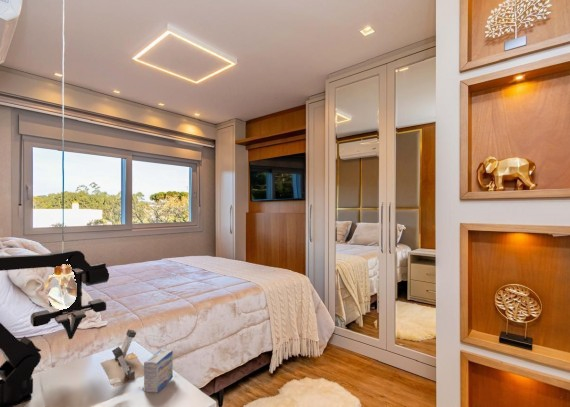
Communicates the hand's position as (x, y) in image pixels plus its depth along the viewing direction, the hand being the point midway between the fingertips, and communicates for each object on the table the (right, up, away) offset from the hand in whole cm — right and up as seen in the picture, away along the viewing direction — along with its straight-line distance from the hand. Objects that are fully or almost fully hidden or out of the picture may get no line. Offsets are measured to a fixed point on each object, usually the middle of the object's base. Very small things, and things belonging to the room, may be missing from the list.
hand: (70, 338), depth 91 cm
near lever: (+20, -10, -2) cm, 23 cm away
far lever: (+12, -11, +7) cm, 17 cm away
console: (+16, -12, +2) cm, 20 cm away
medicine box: (+30, -12, -4) cm, 33 cm away
